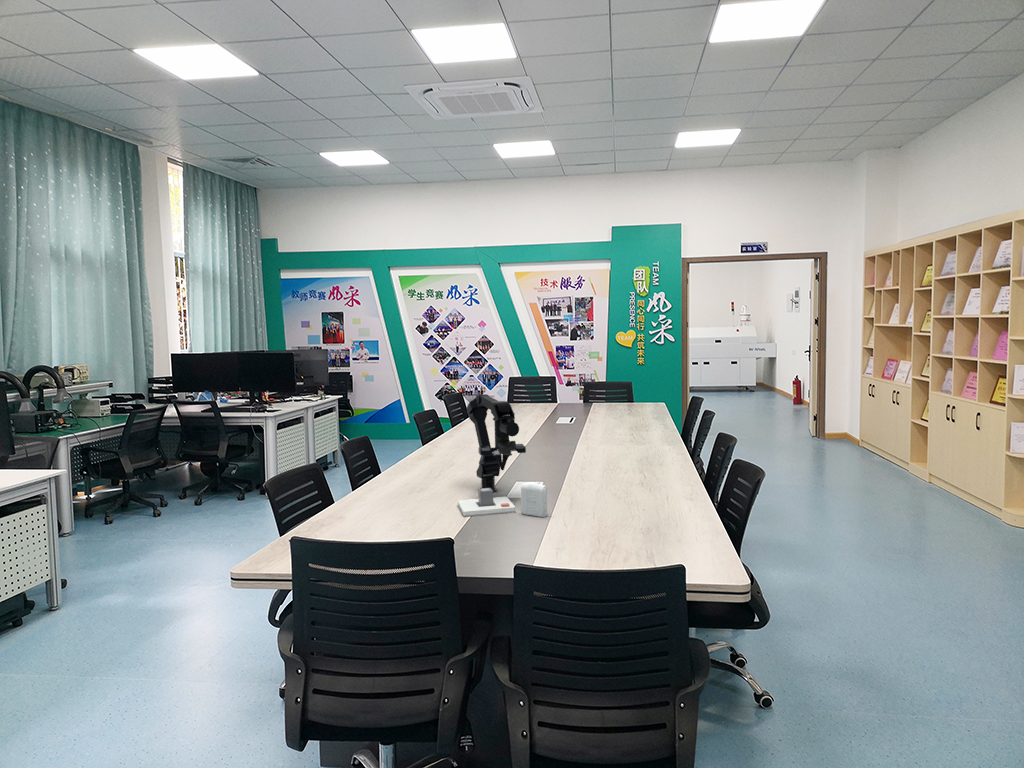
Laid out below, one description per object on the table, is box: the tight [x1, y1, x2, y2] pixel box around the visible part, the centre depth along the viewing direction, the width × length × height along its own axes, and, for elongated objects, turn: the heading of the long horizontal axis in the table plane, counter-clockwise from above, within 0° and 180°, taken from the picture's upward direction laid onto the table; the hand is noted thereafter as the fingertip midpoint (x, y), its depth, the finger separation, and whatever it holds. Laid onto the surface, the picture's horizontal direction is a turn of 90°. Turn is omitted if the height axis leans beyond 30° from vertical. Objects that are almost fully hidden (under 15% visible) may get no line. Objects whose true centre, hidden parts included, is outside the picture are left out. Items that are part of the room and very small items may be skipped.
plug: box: [477, 487, 494, 507], centre depth 260 cm, size 5×5×7 cm
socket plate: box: [457, 496, 517, 518], centre depth 261 cm, size 16×20×3 cm
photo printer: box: [520, 481, 548, 518], centre depth 251 cm, size 10×4×12 cm, turn 61°
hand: (502, 470), depth 274 cm, fingers closed
